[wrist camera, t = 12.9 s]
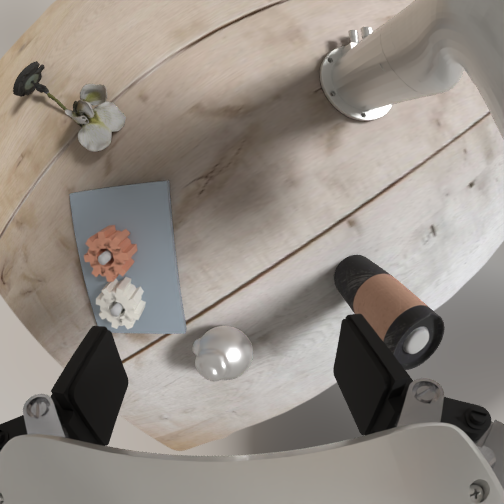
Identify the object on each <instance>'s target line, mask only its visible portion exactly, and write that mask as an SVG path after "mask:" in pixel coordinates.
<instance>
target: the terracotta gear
mask: <svg viewBox="0 0 504 504" xmlns="http://www.w3.org/2000/svg"><path fill="white" fill-rule="evenodd" d="M129 235H130V232H129V231H128V230H127V229H124V230H123V231H122V232H121V231H120V230H117V231H116V229H115V225H109V226H107V227H106V228H104V229H102V230H101V231H99V232H98V233H96V234H95V235H93V236H91V237H90V238H88V240H87V242H86V243H85V244H86V245H87V246H88V247H89V249H88V252H87V253H86V254H85V255H84V260H85V262H90V265H91V267H92V268H93V269H94V270H93V271H92V274H93V275H94V276H95V277H97V276H98V275H99V274H100V275H101V276H106V279H107V282H113V281H114V280H115V279H116V278H117V277H118V275H119V274H120V275H121V276H122V277H123V276H124V275H125V273H126V272H127V271H128V270H129V269H130V267H131V266H132V265H133V263H134V262H135V261H134V260H133V259H132V258H131V257H132V256H133V255H134V254H135V253H136V252H137V251H138V250H137V244H131V240H130V239H129V238H128V236H129ZM107 249H108V250H109V251H110V252H112V253H113V258H111V259H110V260H109V261H108V262H107V263H106V264H105V265H101V264H100V263H99V262H98V257H99V256H100V255H101V254H102V253H103V252H105V251H106V250H107Z"/></svg>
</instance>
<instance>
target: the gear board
mask: <svg viewBox="0 0 504 504" xmlns="http://www.w3.org/2000/svg"><path fill="white" fill-rule="evenodd" d="M70 203H71V211H72V218H73V225H74V231H75V237H76V242H77V247H78V253H79V257H80V262H81V267H82V271H83V275H84V279H85V283H86V287H87V291H88V295H89V298H90V302H91V306H92V309H93V312H94V316H95V319H96V322H97V325H98V326H105V327H106V328H107V329H108V330H110V331H111V332H114V333H151V334H180V333H186V322H185V316H184V310H183V304H182V297H181V290H180V283H179V276H178V268H177V260H176V252H175V243H174V233H173V223H172V212H171V200H170V186H169V180H168V181H157V182H148V183H139V184H130V185H122V186H114V187H107V188H100V189H94V190H87V191H81V192H75V193H71V194H70ZM109 225H115V229H116V231H117V230H120V231H121V232H122V231H123V230H124V229H127V230H128V231H129V232H130V235H129V236H128V238H129V239H130V240H131V244H137V250H138V251H137V252H136V253H135V254H134V255H133V256H132V257H131V258H132V259H133V260H134V261H135V262H134V263H133V265H132V266H131V267H130V269H129V270H128V271H127V272H126V273H125V275H124V276H123V277H122V276H121V275H120V274H119V275H118V277H117V278H116V279H117V280H118V282H119V281H121V280H122V281H123V280H124V278H125V277H128V278H131V284H133V285H135V287H136V288H138V287H140V286H141V288H142V289H143V291H144V292H143V294H142V298H141V300H142V301H145V302H146V304H145V308H144V310H143V312H142V314H141V316H140V318H139V320H136V321H135V323H134V325H133V327H132V328H130V329H127V328H126V327H125V325H123V326H119V327H118V328H117V329H115V328H113V327H111V325H112V322H109V321H108V320H107V319H106V318H105V319H103V320H102V319H101V317H100V316H99V313H100V312H101V310H100V306H99V305H97V304H96V298H97V297H98V296H99V294H100V293H101V292H102V291H101V290H102V289H103V288H104V287H105V286H106V285H107V283H108V282H107V279H106V276H101V275H100V274H99V275H98V276H97V277H95V276H94V275H93V274H92V271H93V270H94V269H93V268H92V267H91V265H90V262H85V260H84V255H85V254H86V253H87V252H88V249H89V247H88V246H87V245H86V244H85V243H86V242H87V240H88V238H90V237H91V236H93V235H95V234H96V233H98V232H99V231H101V230H102V229H104V228H106V227H107V226H109ZM111 258H113V253H112V252H110V251H109V250H108V249H107V250H106V251H105V252H103V253H102V254H101V255H100V256H99V257H98V262H99V263H100V264H101V265H105V264H106V263H107V262H108V261H109V260H110V259H111ZM123 308H124V307H123V306H122V304H121V303H118V302H116V303H115V304H114V306H113V307H112V309H111V311H110V312H111V314H112V315H113V316H114V317H117V316H119V314H120V312H121V311H122V309H123Z"/></svg>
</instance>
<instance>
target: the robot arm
mask: <svg viewBox="0 0 504 504" xmlns="http://www.w3.org/2000/svg"><path fill="white" fill-rule="evenodd" d="M361 35H362V39H363V40H362V41H360V42H358V32H357V31H355V30H350V31H349V38H350V43H349V44H348V45H347V46H341V47H338V48H336V49H334V50H333V51H331V52H330V53H329V54H328V55H327V56H326V57H325V58H324V60H323V62H322V64H321V67H320V82H321V86H322V89H323V91H324V93H325V95H326V97H327V98H328V100H329V101H330V103H331V104H332V105H333V106H334V107H335V108H336V109H337V110H339V111H340V112H341V113H343V114H344V115H346V116H348V117H350V118H353V119H355V120H361V121H370V120H375V119H378V118H381V117H382V116H384V115H385V114H386V113H387V112H388V111H389V110H390V109H391V107H392V105H393V104H396V103H400V102H404V101H408V100H413V99H417V98H422V97H426V96H431V95H436V94H441V93H444V92H447V91H449V90H450V89H452V88H453V87H454V86H455V85H456V84H457V83H458V82H459V80H460V78H461V76H462V74H463V71H464V69H465V71H466V72H467V73H468V75H469V76H470V78H471V80H472V81H473V83H474V84H475V85H476V87H477V89H478V90H479V92H480V94H481V96H482V97H483V99H484V101H485V103H486V105H487V107H488V109H489V111H490V113H491V115H492V117H493V119H494V121H495V123H496V125H497V127H498V129H499V132H500V134H501V136H502V138H503V140H504V0H415V1H413V2H412V3H411V4H410V5H409V6H407V7H406V8H405V9H403V10H402V11H401V12H399V13H398V14H397V15H395V16H394V17H393V18H391V19H390V20H388V21H387V22H386V23H385V24H383V25H382V26H380V27H379V28H378V29H376V30H375V31H374V32H373V29H372V28H370V27H362V28H361ZM328 61H329V62H330V63H329V62H328ZM330 93H331V94H332V96H331V95H330ZM361 115H362V117H361ZM334 376H335V378H336V381H337V383H338V385H339V387H340V389H341V391H342V394H343V396H344V398H345V400H346V402H347V404H348V406H349V409H350V411H351V414H352V416H353V418H354V420H355V422H356V425H357V427H358V429H359V432H360V433H361V434H362V435H365V436H362V437H358V438H354V439H350V440H345V441H340V442H336V443H331V444H326V445H321V446H316V447H310V448H304V449H298V450H292V451H284V452H275V453H266V454H254V455H238V456H186V455H185V456H184V455H169V454H157V453H147V452H139V451H132V450H125V449H119V448H113V447H108V446H105V445H108V444H109V441H110V438H111V434H112V431H113V428H114V425H115V422H116V419H117V416H118V413H119V410H120V407H121V404H122V401H123V398H124V395H125V392H126V390H127V387H128V377H127V375H126V372H125V370H124V367H123V364H122V362H121V359H120V356H119V353H118V350H117V348H116V345H115V342H114V339H113V336H112V333H111V331H110V330H108V329H107V328H106V327H105V326H93V327H92V328H91V329H90V330H89V332H88V333H87V335H86V336H85V338H84V339H83V341H82V342H81V344H80V345H79V347H78V348H77V350H76V351H75V353H74V354H73V356H72V358H71V359H70V361H69V362H68V364H67V365H66V367H65V369H64V370H63V372H62V373H61V375H60V377H59V379H58V380H57V382H56V383H55V385H54V387H53V389H52V390H51V392H52V393H53V394H52V395H51V397H49V396H48V395H45V394H38V395H34V396H32V397H31V398H29V399H28V400H27V401H26V403H25V404H24V407H23V414H24V415H22V416H20V417H18V418H15V419H13V420H10V421H8V422H5V423H3V424H0V504H504V424H503V423H501V422H499V421H497V420H495V421H494V422H491V417H490V414H489V412H488V411H487V410H486V409H485V408H483V407H481V406H478V405H474V404H470V403H466V402H462V401H458V400H454V399H450V398H446V397H444V391H443V389H442V387H441V386H440V384H439V383H437V382H436V381H434V380H431V379H428V378H421V379H417V380H414V381H413V380H412V379H411V378H410V376H409V375H408V374H407V372H406V371H405V369H404V368H403V367H402V365H401V364H400V363H399V361H398V360H397V359H396V357H395V356H394V355H393V353H392V352H391V351H390V349H389V348H388V347H387V345H386V344H385V343H384V342H383V341H382V339H381V338H380V337H379V336H378V334H377V333H376V332H375V330H374V329H373V328H372V327H371V325H370V324H369V323H368V321H367V320H366V319H365V318H364V316H363V315H362V314H353V315H347V317H346V319H343V320H342V324H341V330H340V336H339V342H338V348H337V353H336V358H335V364H334Z"/></svg>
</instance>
